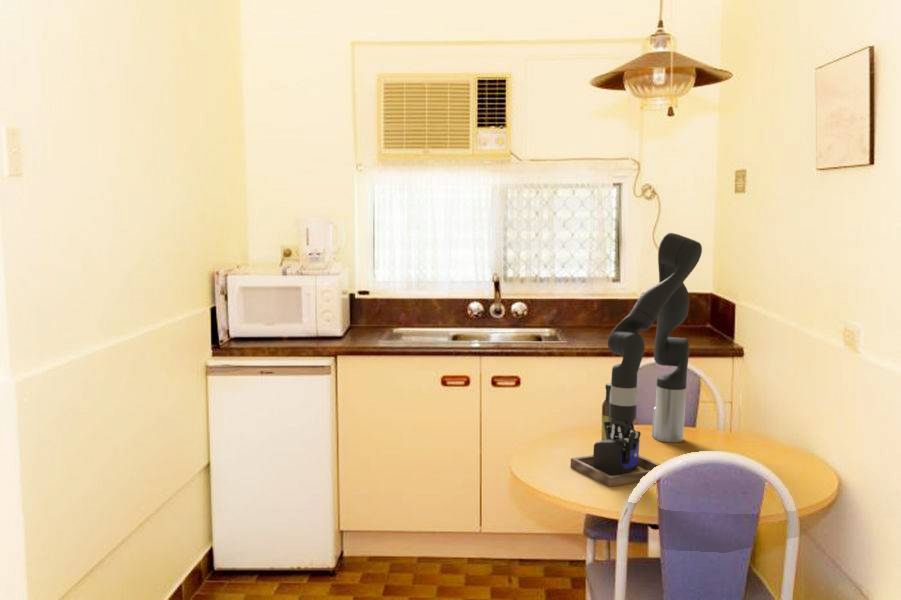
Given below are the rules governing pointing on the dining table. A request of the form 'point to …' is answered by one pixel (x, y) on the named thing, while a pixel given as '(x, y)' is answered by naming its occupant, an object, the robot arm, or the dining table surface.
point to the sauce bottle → (606, 411)
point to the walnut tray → (584, 467)
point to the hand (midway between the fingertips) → (620, 461)
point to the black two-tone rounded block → (613, 457)
